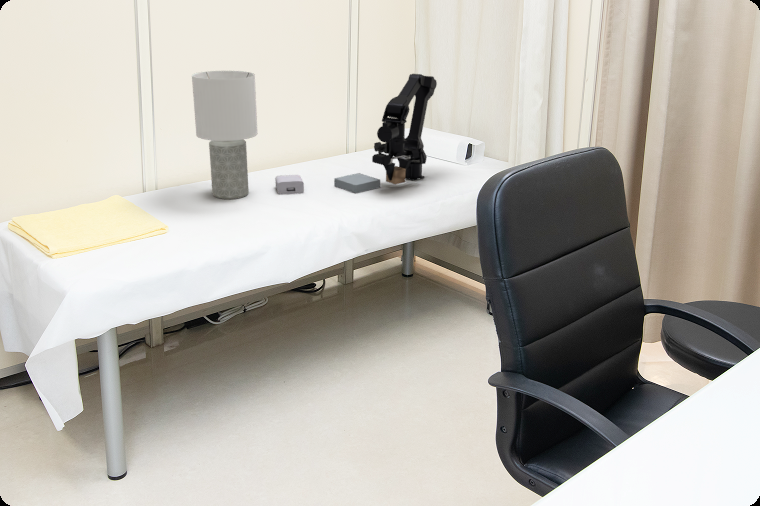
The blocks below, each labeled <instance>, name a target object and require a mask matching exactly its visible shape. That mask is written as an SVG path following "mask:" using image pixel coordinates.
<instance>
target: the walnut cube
mask: <svg viewBox="0 0 760 506" xmlns="http://www.w3.org/2000/svg"><path fill="white" fill-rule="evenodd" d="M405 171H406V169H405V168H401V167H399V165H395V167H394V172H393V177H392V180H389V178H388V176H387V173H386V172H385V182H387V183H389V184H393V185H400V184H403V183H405V182H406V178H405Z"/></svg>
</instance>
